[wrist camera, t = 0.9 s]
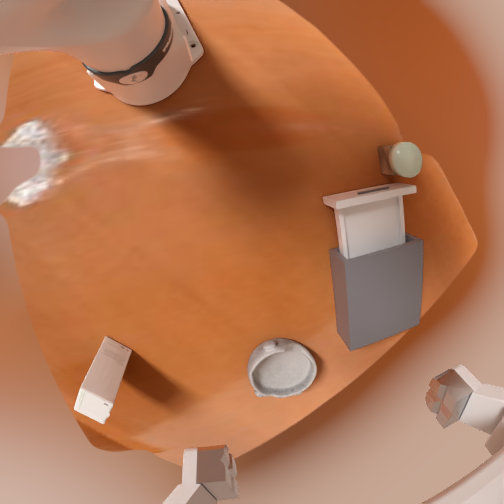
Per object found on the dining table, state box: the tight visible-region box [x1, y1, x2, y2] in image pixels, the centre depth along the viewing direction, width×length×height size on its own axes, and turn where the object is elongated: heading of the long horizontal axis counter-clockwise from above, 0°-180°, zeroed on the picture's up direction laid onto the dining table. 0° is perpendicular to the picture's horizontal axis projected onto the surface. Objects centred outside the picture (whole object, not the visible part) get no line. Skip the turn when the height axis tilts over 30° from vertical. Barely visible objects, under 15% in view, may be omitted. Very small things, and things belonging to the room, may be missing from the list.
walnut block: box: [378, 145, 397, 175], centre depth 44 cm, size 5×5×4 cm
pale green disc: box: [389, 142, 422, 178], centre depth 41 cm, size 6×6×2 cm
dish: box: [248, 338, 317, 398], centre depth 54 cm, size 14×14×5 cm
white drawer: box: [323, 182, 417, 259], centre depth 47 cm, size 18×16×6 cm
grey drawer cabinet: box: [329, 232, 423, 351], centre depth 49 cm, size 18×16×7 cm
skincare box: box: [74, 336, 132, 424], centre depth 44 cm, size 8×7×16 cm
